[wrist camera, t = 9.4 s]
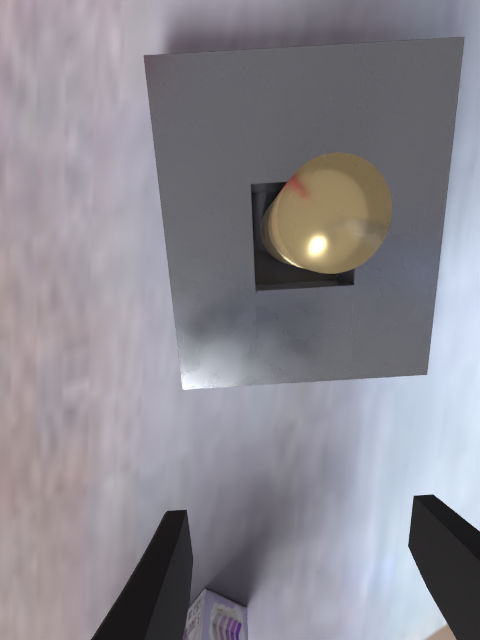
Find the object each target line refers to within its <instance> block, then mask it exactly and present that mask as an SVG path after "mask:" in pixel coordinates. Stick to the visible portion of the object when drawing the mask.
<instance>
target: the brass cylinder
mask: <svg viewBox="0 0 480 640" xmlns="http://www.w3.org/2000/svg"><path fill="white" fill-rule="evenodd" d="M391 216H392V202H391V195H390V191H389V188H388V186H387V183H386V181H385V179H384V178H383V176H382V175H381V173H380V172H379V171H378V170H377V169H376V168H375V167H374V166H373V165H372V164H371V163H370V162H368V161H367V160H365V159H363V158H361V157H359V156H356V155H353V154H349V153H339V152H336V153H328V154H324V155H321V156H318V157H316V158H314V159H312V160H310V161H308V162H307V163H305V164H304V165H303V166H302V167H300V168H299V169H298V170H297V171H296V172H295V173H294V174H293V176H292V177H291V178H290V180H289V181H288V182H287V183H286V185H285V186H284V187H283V189H282V190H281V191H280V193H279V194H278V195H277V197H276V198H275V199H274V200H273V202H272V203H271V204H270V206H269V207H268V208H267V210H266V212H265V213H264V216H263V218H262V222H261V238H262V242H263V244H264V246H265V248H266V250H267V251H268V253H269V254H270V255H271V256H272V257H273V258H275V259H276V260H278V261H280V262H282V263H286V264H289V265H293V266H297V267H300V268H304V269H308V270H312V271H315V272H319V273H326V274H334V273H342V272H346V271H349V270H351V269H354V268H356V267H358V266H360V265H361V264H363V263H364V262H366V261H367V260H368V259H369V258H370V257H371V256H373V254H374V253H375V252H376V251H377V250H378V248H379V247H380V246H381V244H382V243H383V241H384V239H385V237H386V235H387V232H388V230H389V226H390V222H391Z"/></svg>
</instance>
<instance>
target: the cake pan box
mask: <svg viewBox="0 0 480 640" xmlns="http://www.w3.org/2000/svg"><path fill="white" fill-rule="evenodd" d="M183 640H248V624H247V607H245V606H243V605H241V604H239V603H237V602H234V601H232V600H230V599H228V598H226V597H223V596H222V595H220V594H218V593H215V592H213V591H211V590H209V589H207V588H205V589H204V590H203V591H202V592H201V594H200V595H199V596H198V598H197V599H196V600H195V601H194V603H193V604H192V605H191V607H190V608H189V609H188V613H187V619H186V625H185V630H184V636H183Z"/></svg>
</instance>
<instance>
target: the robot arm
mask: <svg viewBox="0 0 480 640" xmlns="http://www.w3.org/2000/svg"><path fill="white" fill-rule="evenodd" d="M408 547H409V549H410V551H411V553H412V556H413V558H414V560H415V562H416V565H417V567H418V569H419V571H420V573H421V575H422V578H423V580H424V582H425V584H426V586H427V588H428V590H429V592H430V593H431V595H432V597H433V599H434V601H435V602H436V604H437V606H438V608H439V609H440V611H441V613H442V615H443V616H444V618H445V620H446V622H447V623H448V625H449V627H450V629H451V630H452V632H453V634H454V636H455V637H456V639H457V640H480V531H478V530H477V529H476V528H475V527H473V526H472V525H471V524H470V523H468V522H467V521H466V520H465V519H463V518H462V517H461V516H460V515H458V514H457V513H456V512H455V511H453V510H452V509H451V508H450V507H448V506H447V505H446V504H444V503H443V502H442V501H441V500H439V499H438V498H437V497H435V496H434V495H419V496H414V499H413V508H412V517H411V526H410V535H409V544H408ZM192 567H193V555H192V547H191V539H190V531H189V523H188V516H187V510H176V511H167V512H166V513H165V514H164V516H163V518H162V520H161V522H160V524H159V526H158V528H157V530H156V532H155V534H154V536H153V538H152V540H151V542H150V543H149V545H148V547H147V549H146V551H145V553H144V554H143V556H142V558H141V560H140V562H139V563H138V565H137V567H136V568H135V570H134V572H133V573H132V575H131V577H130V579H129V580H128V582H127V584H126V585H125V587H124V589H123V590H122V592H121V594H120V595H119V597H118V599H117V600H116V602H115V603H114V605H113V606H112V608H111V609H110V611H109V613H108V614H107V616H106V617H105V619H104V620H103V622H102V624H101V625H100V627H99V628H98V630H97V631H96V633H95V634H94V636H93V637H92V639H91V640H183V636H184V630H185V625H186V619H187V613H188V607H189V600H190V589H191V578H192Z"/></svg>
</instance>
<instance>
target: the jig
mask: <svg viewBox="0 0 480 640" xmlns="http://www.w3.org/2000/svg"><path fill="white" fill-rule="evenodd" d="M463 45H464V37H454V38H437V39H419V40H402V41H385V42H367V43H350V44H333V45H315V46H298V47H281V48H263V49H246V50H229V51H211V52H194V53H177V54H159V55H144V63H145V71H146V80H147V88H148V97H149V106H150V114H151V123H152V131H153V140H154V148H155V157H156V165H157V174H158V182H159V191H160V199H161V208H162V217H163V225H164V234H165V242H166V251H167V259H168V268H169V276H170V285H171V293H172V302H173V311H174V319H175V328H176V336H177V345H178V353H179V362H180V370H181V379H182V387H183V389H199V388H216V387H232V386H249V385H265V384H282V383H298V382H315V381H331V380H348V379H364V378H381V377H397V376H414V375H427V370H428V361H429V352H430V343H431V334H432V325H433V316H434V307H435V298H436V289H437V280H438V271H439V262H440V253H441V244H442V235H443V226H444V217H445V208H446V199H447V190H448V181H449V172H450V163H451V154H452V145H453V136H454V127H455V118H456V109H457V100H458V90H459V81H460V72H461V63H462V54H463ZM336 152H339V153H349V154H353V155H356V156H359V157H361V158H363V159H365V160H367V161H368V162H370V163H371V164H372V165H373V166H374V167H375V168H376V169H377V170H378V171H379V172H380V173H381V175H382V176H383V178H384V179H385V181H386V183H387V186H388V188H389V191H390V195H391V202H392V216H391V222H390V226H389V230H388V232H387V235H386V237H385V239H384V241H383V243H382V244H381V246H380V247H379V248H378V250H377V251H376V252H375V253H374V254H373V256H371V257H370V258H369V259H368V260H367V261H366V262H364V263H363V264H361V265H360V266H358V267H356V268H354V269H351V270H349V271H346V272H342V273H338V280H327V281H310V282H294V283H277V284H260V285H255V270H254V248H253V225H252V203H251V193H259V192H276V191H281V190H282V189H283V187H284V186H285V185H286V183H287V182H288V181H289V180H290V178H291V177H292V176H293V174H294V173H295V172H296V171H297V170H298V169H299V168H300V167H302V166H303V165H304V164H305V163H307V162H308V161H310V160H312V159H314V158H316V157H318V156H321V155H324V154H328V153H336Z"/></svg>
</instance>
